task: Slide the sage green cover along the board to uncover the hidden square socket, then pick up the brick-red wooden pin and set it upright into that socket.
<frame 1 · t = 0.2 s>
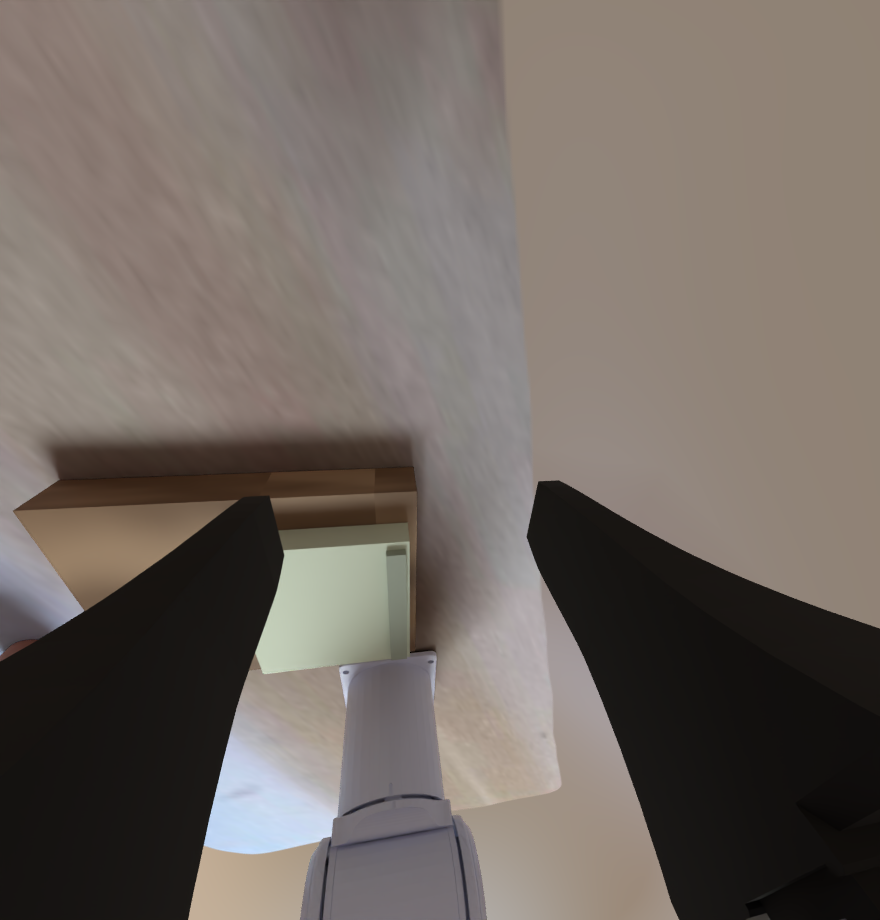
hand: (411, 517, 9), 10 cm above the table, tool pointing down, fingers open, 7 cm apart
cover: (330, 605, 20), point 3 cm above the table, slide at 0.0 cm
board: (273, 565, 22), on the table
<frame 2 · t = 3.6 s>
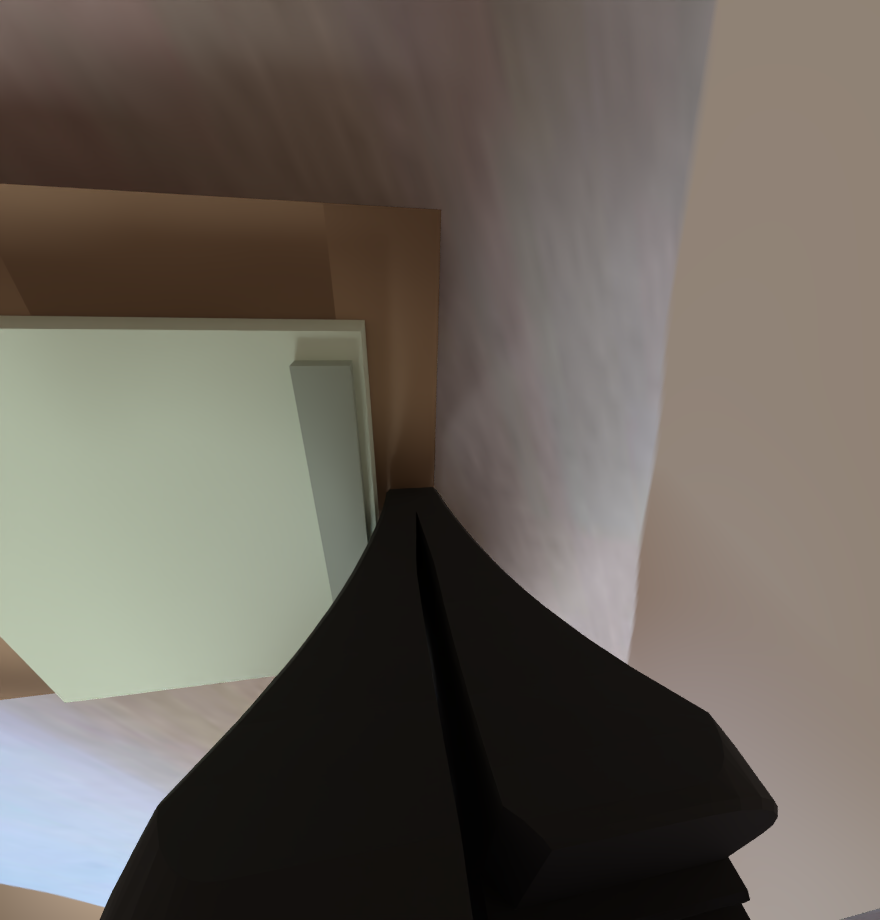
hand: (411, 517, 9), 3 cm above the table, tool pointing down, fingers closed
cover: (190, 543, 8), point 4 cm above the table, slide at 1.1 cm, touching gripper
board: (144, 474, 11), on the table
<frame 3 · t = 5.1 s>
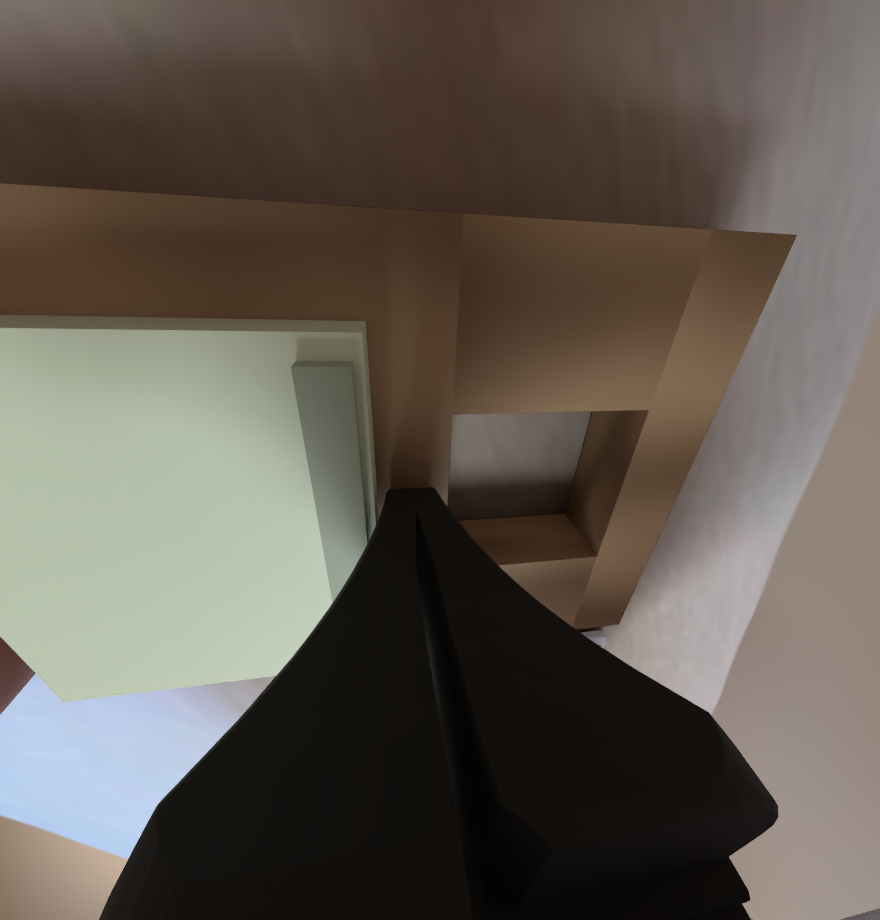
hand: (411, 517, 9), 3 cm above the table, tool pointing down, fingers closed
cover: (190, 543, 8), point 3 cm above the table, slide at 9.3 cm, touching gripper
board: (402, 462, 12), on the table
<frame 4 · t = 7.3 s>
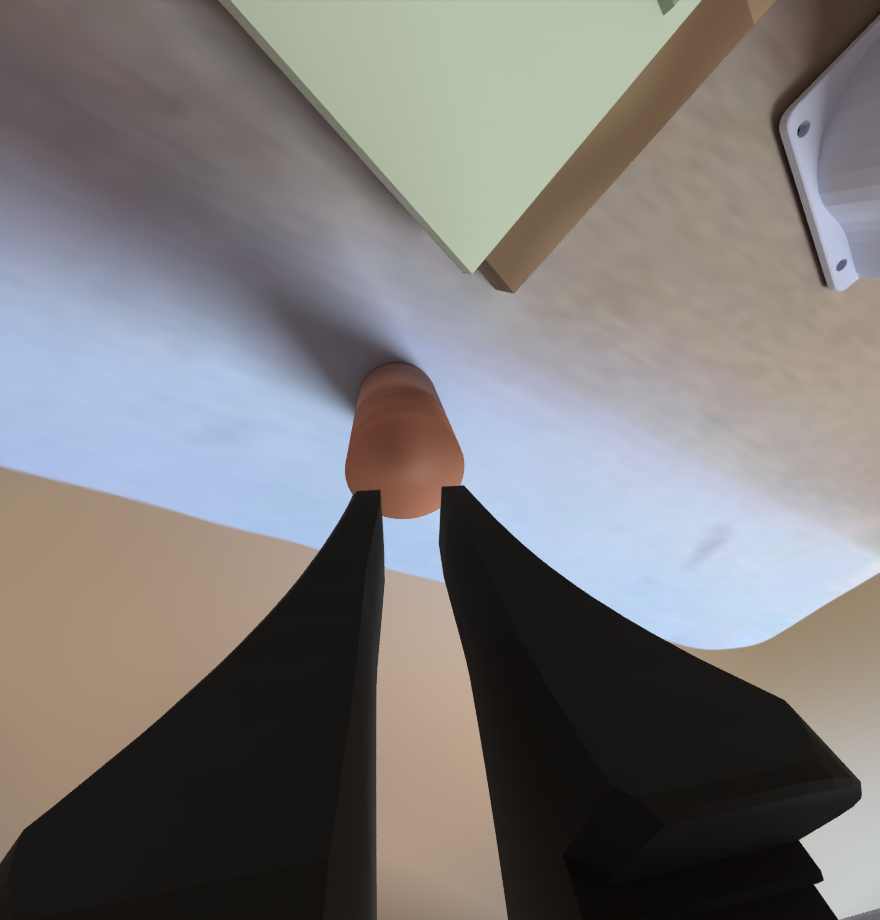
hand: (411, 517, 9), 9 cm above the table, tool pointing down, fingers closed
pin: (398, 401, 18), on the table
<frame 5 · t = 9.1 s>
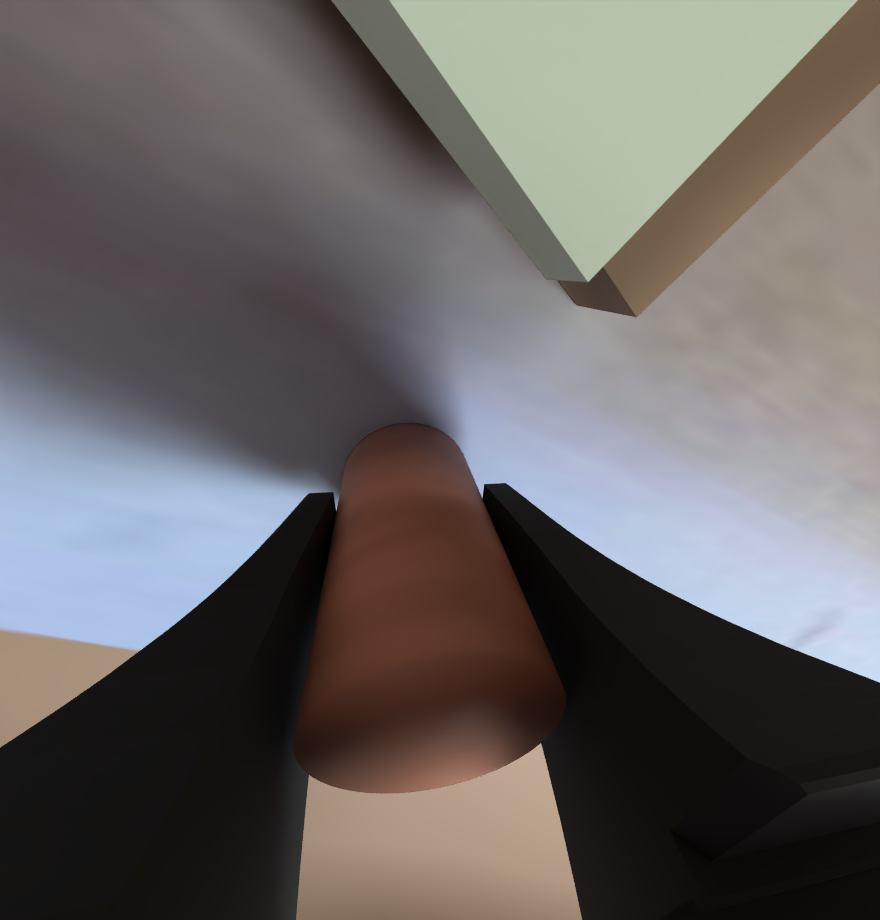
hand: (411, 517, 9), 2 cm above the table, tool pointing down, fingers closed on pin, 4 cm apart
pin: (407, 480, 11), on the table, touching gripper
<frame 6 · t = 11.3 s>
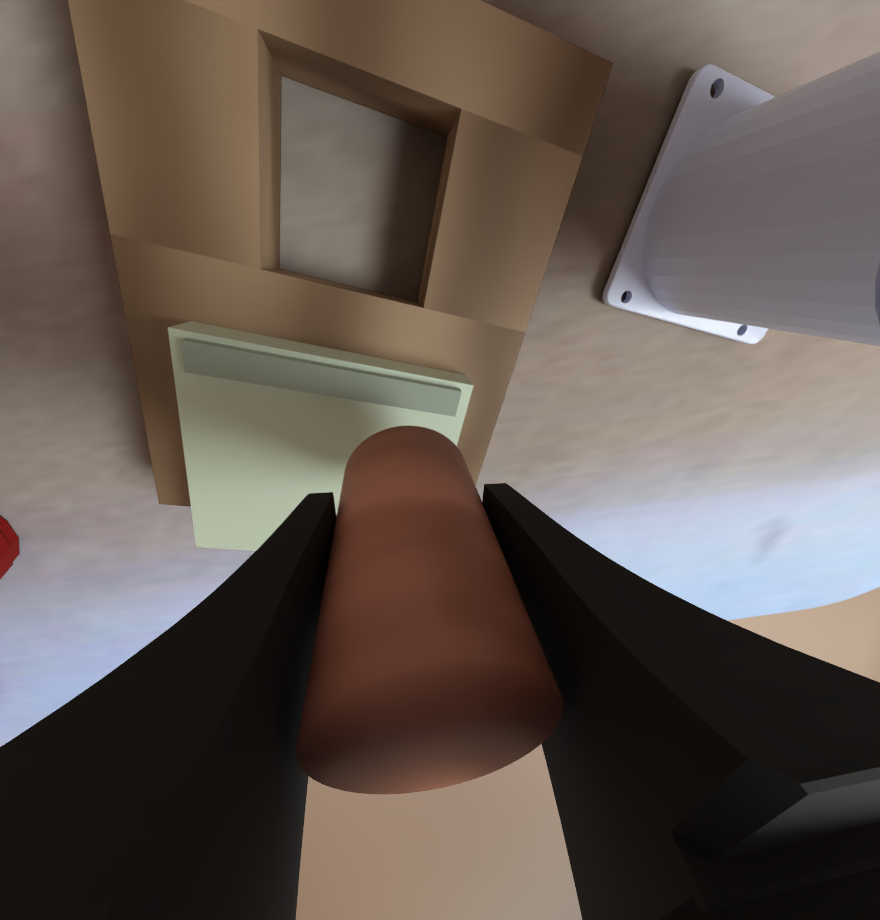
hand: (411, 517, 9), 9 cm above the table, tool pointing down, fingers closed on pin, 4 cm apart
cover: (328, 464, 14), point 4 cm above the table, slide at 9.4 cm
board: (348, 316, 15), on the table
pin: (407, 481, 11), point 7 cm above the table, touching gripper
when the fingers open (3 cm above the table, at t = 13.6 s): pin drops 1 cm, resting in board.
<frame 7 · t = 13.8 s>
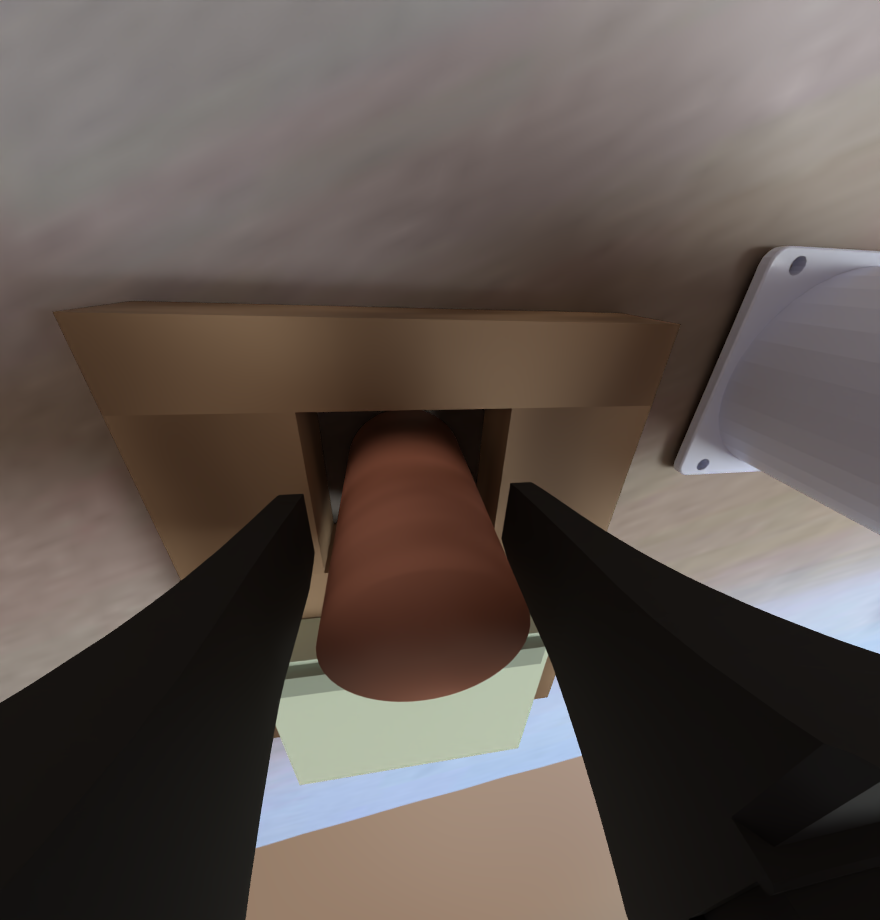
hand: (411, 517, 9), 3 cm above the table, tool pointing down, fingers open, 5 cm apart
cover: (412, 701, 14), point 4 cm above the table, slide at 9.4 cm
board: (406, 541, 14), on the table
pin: (405, 460, 12), resting in board
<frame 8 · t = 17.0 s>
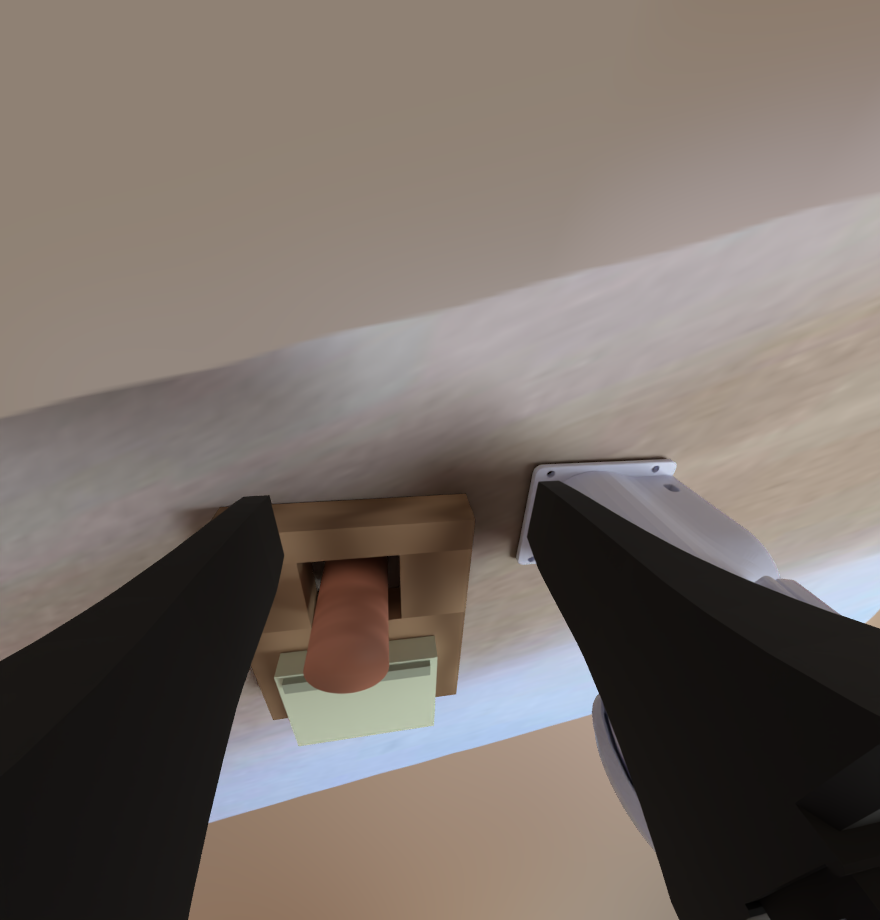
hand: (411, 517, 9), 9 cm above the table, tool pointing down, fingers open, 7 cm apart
cover: (364, 695, 24), point 3 cm above the table, slide at 9.4 cm
board: (360, 602, 24), on the table
pin: (356, 562, 22), resting in board
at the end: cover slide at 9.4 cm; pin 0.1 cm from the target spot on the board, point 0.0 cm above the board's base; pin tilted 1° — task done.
